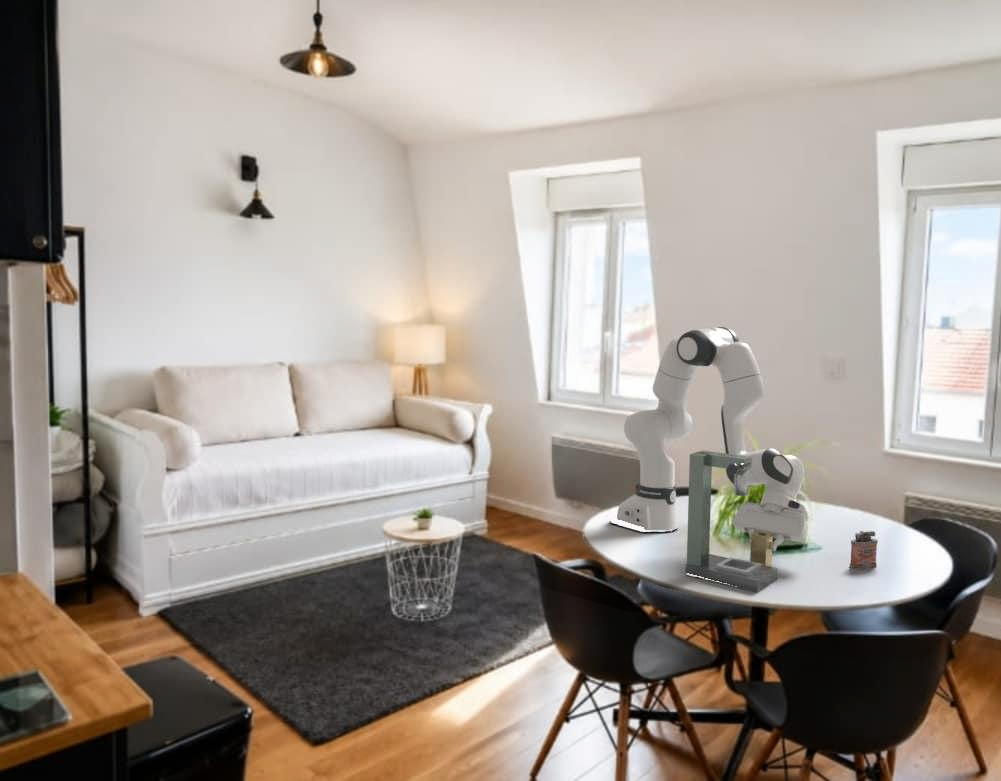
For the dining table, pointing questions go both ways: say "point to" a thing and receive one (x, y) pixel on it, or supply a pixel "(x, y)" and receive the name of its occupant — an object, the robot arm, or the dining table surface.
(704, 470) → the press
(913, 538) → the dining table surface
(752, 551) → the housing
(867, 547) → the lighter
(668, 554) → the dining table surface
